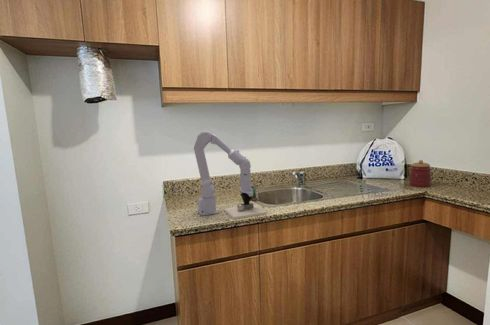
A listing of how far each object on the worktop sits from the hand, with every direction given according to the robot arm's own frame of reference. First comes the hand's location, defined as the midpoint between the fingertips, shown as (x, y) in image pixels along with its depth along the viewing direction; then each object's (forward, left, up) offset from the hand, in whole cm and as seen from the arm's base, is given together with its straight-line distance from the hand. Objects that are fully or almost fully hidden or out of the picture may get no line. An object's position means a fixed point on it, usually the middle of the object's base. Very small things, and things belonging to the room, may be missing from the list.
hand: (246, 206), depth 147 cm
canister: (+128, -3, -3) cm, 128 cm away
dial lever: (-1, -2, -1) cm, 2 cm away
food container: (+11, +21, -3) cm, 24 cm away
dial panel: (-2, -2, -3) cm, 4 cm away
